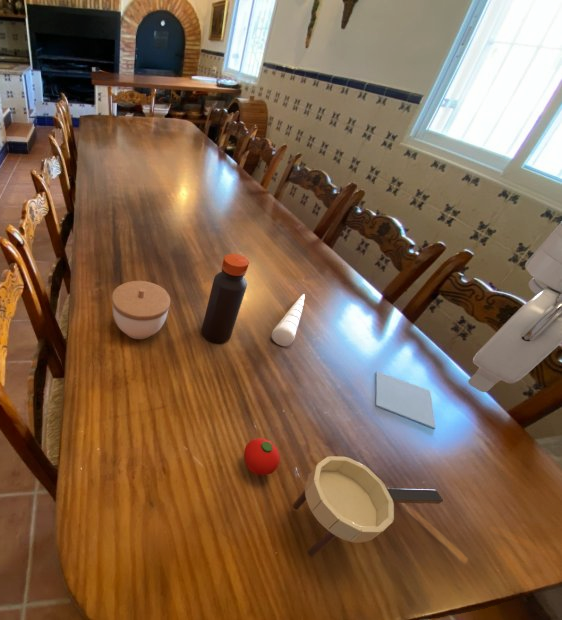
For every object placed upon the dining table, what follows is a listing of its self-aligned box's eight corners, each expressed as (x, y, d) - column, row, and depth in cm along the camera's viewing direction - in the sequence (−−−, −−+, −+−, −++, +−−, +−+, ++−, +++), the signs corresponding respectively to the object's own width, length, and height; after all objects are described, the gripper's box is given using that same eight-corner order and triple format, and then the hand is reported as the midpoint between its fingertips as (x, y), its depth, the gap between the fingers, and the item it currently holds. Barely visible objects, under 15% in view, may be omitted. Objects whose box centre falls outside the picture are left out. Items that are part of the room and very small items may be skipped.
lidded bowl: (105, 314, 85) (106, 276, 78) (155, 307, 89) (160, 270, 82) (118, 352, 76) (120, 312, 69) (173, 343, 79) (180, 304, 72)
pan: (294, 565, 48) (333, 531, 40) (274, 496, 55) (304, 455, 47) (409, 567, 49) (469, 533, 41) (374, 498, 56) (420, 458, 48)
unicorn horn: (317, 301, 95) (324, 286, 92) (288, 351, 80) (295, 335, 77) (299, 294, 97) (306, 279, 94) (268, 341, 82) (274, 325, 79)
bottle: (219, 321, 86) (239, 248, 74) (236, 339, 82) (261, 265, 69) (195, 327, 84) (212, 254, 71) (211, 347, 79) (232, 272, 66)
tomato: (280, 470, 58) (292, 452, 55) (257, 487, 56) (268, 469, 52) (256, 443, 62) (266, 425, 58) (233, 458, 59) (242, 439, 56)
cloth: (429, 391, 73) (430, 390, 73) (434, 429, 66) (435, 428, 66) (375, 372, 77) (376, 370, 76) (375, 406, 70) (376, 404, 69)
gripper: (619, 325, 26) (490, 430, 35) (668, 259, 35) (557, 355, 44) (515, 281, 30) (423, 386, 39) (584, 232, 39) (496, 326, 48)
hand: (494, 369), depth 42 cm, fingers open, 8 cm apart
